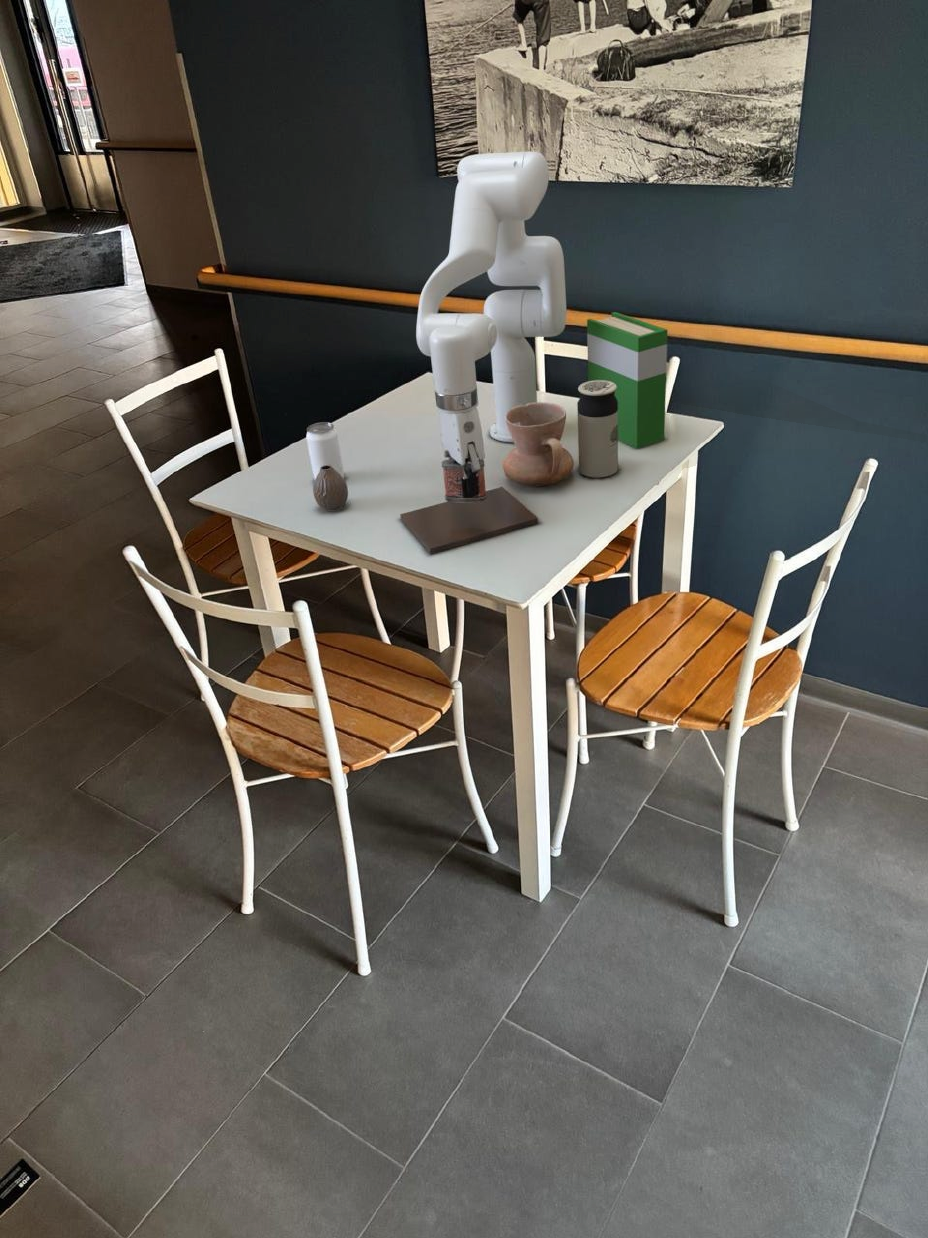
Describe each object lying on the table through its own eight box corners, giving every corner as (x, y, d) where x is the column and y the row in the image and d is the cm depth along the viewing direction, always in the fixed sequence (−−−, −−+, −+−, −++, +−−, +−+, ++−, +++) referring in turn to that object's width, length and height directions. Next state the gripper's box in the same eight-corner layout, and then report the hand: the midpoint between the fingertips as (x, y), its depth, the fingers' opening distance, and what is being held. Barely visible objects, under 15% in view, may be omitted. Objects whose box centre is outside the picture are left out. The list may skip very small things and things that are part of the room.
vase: (336, 517, 188) (328, 476, 183) (309, 510, 191) (301, 471, 186) (357, 502, 192) (350, 462, 188) (330, 496, 196) (323, 457, 191)
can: (315, 475, 205) (305, 423, 199) (345, 471, 206) (336, 419, 199) (314, 488, 200) (303, 435, 193) (344, 484, 200) (335, 431, 194)
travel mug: (571, 473, 195) (568, 389, 185) (594, 459, 200) (593, 376, 190) (602, 482, 190) (602, 396, 180) (625, 467, 195) (625, 383, 185)
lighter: (488, 494, 179) (484, 445, 174) (485, 502, 176) (481, 452, 171) (447, 494, 181) (442, 445, 175) (443, 502, 178) (438, 453, 173)
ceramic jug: (491, 471, 199) (486, 407, 191) (553, 455, 203) (550, 392, 195) (525, 504, 185) (521, 437, 177) (591, 487, 189) (590, 420, 181)
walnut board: (502, 491, 191) (502, 486, 190) (538, 523, 178) (538, 517, 177) (400, 519, 184) (400, 514, 184) (430, 554, 172) (429, 548, 171)
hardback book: (588, 424, 215) (587, 319, 202) (615, 416, 218) (615, 311, 205) (636, 448, 202) (638, 337, 189) (664, 439, 205) (667, 329, 192)
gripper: (495, 407, 162) (502, 503, 172) (457, 380, 175) (466, 470, 185) (455, 417, 160) (464, 513, 170) (420, 388, 173) (430, 479, 183)
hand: (465, 489), depth 177 cm, fingers closed on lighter, 4 cm apart
